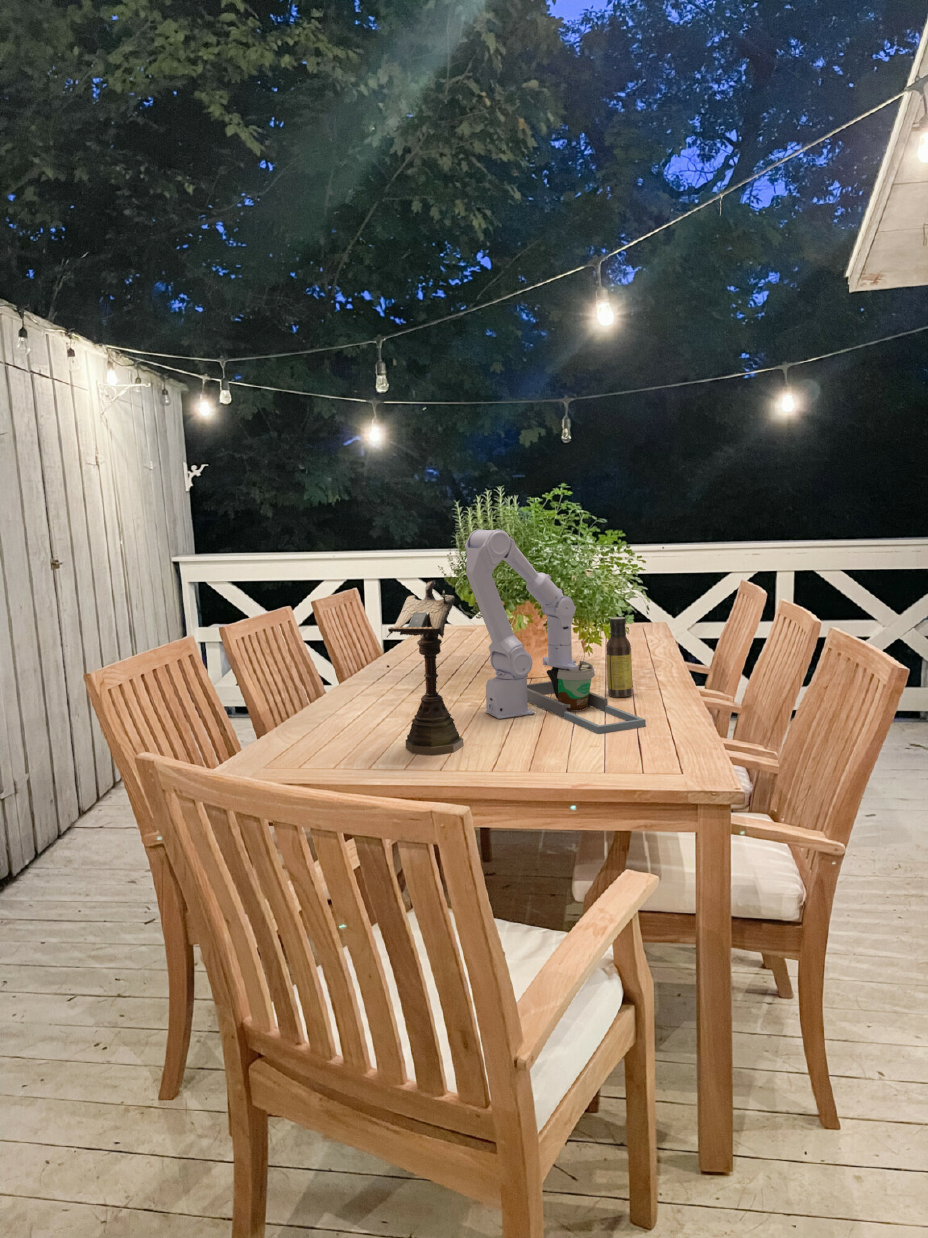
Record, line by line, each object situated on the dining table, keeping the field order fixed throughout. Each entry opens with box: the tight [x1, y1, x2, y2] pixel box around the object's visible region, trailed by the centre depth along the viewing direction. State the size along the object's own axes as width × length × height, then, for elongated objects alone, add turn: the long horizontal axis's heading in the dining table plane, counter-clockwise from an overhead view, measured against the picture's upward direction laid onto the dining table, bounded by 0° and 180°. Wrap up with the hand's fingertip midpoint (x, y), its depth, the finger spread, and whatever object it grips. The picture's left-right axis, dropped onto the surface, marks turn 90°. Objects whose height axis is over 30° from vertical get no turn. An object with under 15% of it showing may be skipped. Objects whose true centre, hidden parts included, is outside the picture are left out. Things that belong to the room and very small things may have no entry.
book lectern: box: [386, 579, 465, 756], centre depth 168 cm, size 17×13×35 cm
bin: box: [527, 680, 609, 719], centre depth 204 cm, size 12×24×3 cm, turn 22°
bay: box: [563, 704, 647, 735], centre depth 186 cm, size 12×15×2 cm
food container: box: [557, 660, 596, 712], centre depth 198 cm, size 12×6×10 cm, turn 146°
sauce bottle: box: [605, 616, 634, 698], centre depth 209 cm, size 6×6×20 cm
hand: (561, 698), depth 204 cm, fingers closed
